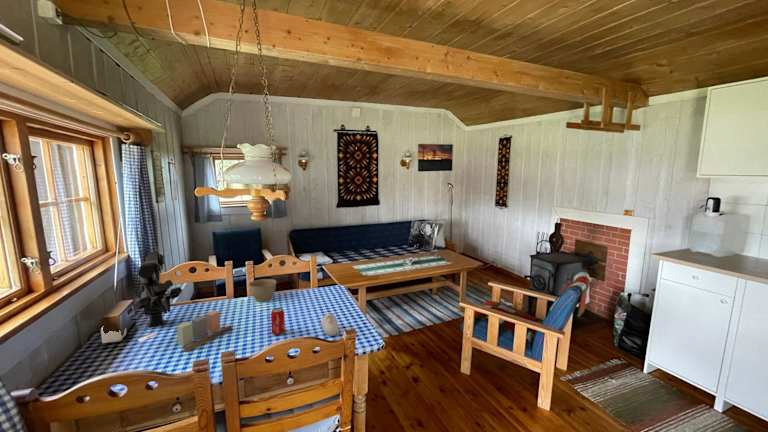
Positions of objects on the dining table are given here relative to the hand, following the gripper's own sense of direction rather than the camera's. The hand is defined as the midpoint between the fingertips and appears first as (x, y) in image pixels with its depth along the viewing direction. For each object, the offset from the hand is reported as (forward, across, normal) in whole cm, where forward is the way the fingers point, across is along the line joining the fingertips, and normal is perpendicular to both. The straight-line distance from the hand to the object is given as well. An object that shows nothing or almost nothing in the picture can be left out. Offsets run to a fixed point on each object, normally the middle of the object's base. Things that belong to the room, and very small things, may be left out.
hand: (168, 312), depth 148 cm
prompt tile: (+5, -4, +14) cm, 16 cm away
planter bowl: (+10, +57, +9) cm, 58 cm away
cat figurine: (+54, +40, -34) cm, 76 cm away
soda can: (+38, +28, -19) cm, 51 cm away
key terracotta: (+17, +14, +1) cm, 22 cm away
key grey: (+17, +7, +1) cm, 18 cm away
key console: (+19, +7, +1) cm, 20 cm away
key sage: (+17, 0, +1) cm, 17 cm away
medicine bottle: (-8, -11, +27) cm, 30 cm away
